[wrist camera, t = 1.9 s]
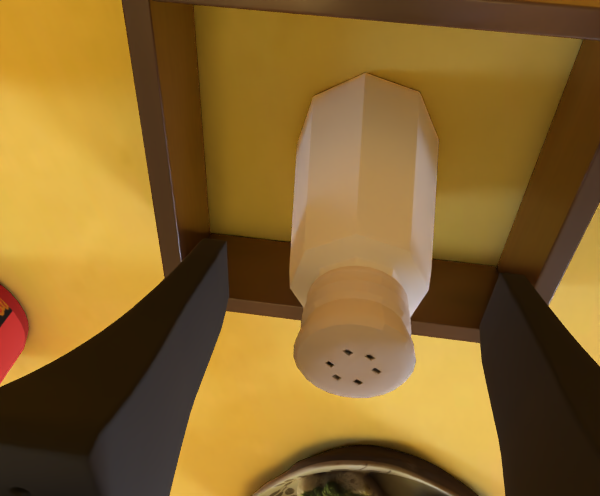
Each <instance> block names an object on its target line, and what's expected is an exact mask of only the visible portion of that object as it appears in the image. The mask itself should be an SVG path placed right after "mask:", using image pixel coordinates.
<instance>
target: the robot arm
mask: <svg viewBox="0 0 600 496" xmlns="http://www.w3.org/2000/svg"><path fill="white" fill-rule="evenodd" d="M228 299H229V281H228V261H227V241H224V240H216V239H207V238H204V239H202V240H201V241H200V242H199V243H198V244H197V245H196V246H195V248H194V249H193V250H192V251H191V252H190V253H189V254H188V255H187V256H186V257H185V258H184V259H183V261H182V262H181V263H180V264H179V265H178V266H177V267H176V268H175V269H174V270H173V271H172V272H171V273H170V274H169V275H168V276H167V277H166V278H165V279H164V280H163V281H162V282H161V283H160V284H159V285H158V286H157V287H155V288H154V289H153V290H152V291H151V292H150V293H149V294H148V295H147V296H145V297H144V298H143V299H142V300H141V301H140V302H139V303H137V304H136V305H135V306H134V307H133V308H132V309H130V310H129V311H128V312H127V313H125V314H124V315H123V316H122V317H120V318H119V319H118V320H117V321H115V322H114V323H112V324H111V325H110V326H108V327H107V328H106V329H104V330H103V331H102V332H100V333H99V334H97V335H96V336H94V337H93V338H91V339H90V340H88V341H86V342H85V343H83V344H82V345H80V346H79V347H77V348H75V349H74V350H72V351H71V352H69V353H67V354H66V355H64V356H62V357H60V358H58V359H57V360H55V361H53V362H51V363H49V364H47V365H45V366H44V367H42V368H40V369H38V370H36V371H34V372H32V373H30V374H28V375H26V376H24V377H22V378H19V379H17V380H15V381H13V382H11V383H8V384H6V385H4V386H2V387H0V496H169V495H170V491H171V486H172V482H173V478H174V474H175V470H176V466H177V462H178V458H179V454H180V450H181V446H182V442H183V438H184V435H185V431H186V427H187V423H188V420H189V416H190V412H191V409H192V406H193V403H194V400H195V397H196V394H197V392H198V389H199V387H200V384H201V381H202V379H203V376H204V373H205V371H206V368H207V366H208V363H209V360H210V358H211V355H212V352H213V350H214V347H215V344H216V342H217V339H218V336H219V334H220V331H221V328H222V324H223V320H224V316H225V312H226V308H227V303H228ZM479 329H480V346H481V357H482V364H483V369H484V374H485V379H486V384H487V389H488V393H489V398H490V402H491V407H492V411H493V416H494V421H495V425H496V430H497V434H498V439H499V445H500V451H501V457H502V467H503V476H504V486H505V496H600V366H599V365H598V364H597V363H596V362H595V361H594V360H593V359H592V358H591V357H590V355H589V354H588V353H587V352H586V351H585V350H584V349H583V348H582V347H581V345H580V344H579V343H578V342H577V341H576V340H575V338H574V337H573V336H572V335H571V334H570V333H569V331H568V330H567V329H566V328H565V326H564V325H563V324H562V323H561V322H560V320H559V319H558V318H557V317H556V315H555V314H554V313H553V311H552V310H551V309H550V308H549V306H548V305H547V304H546V302H545V301H544V300H543V299H542V297H541V296H540V295H539V293H538V292H537V291H536V289H535V288H534V287H533V285H532V284H531V283H530V282H529V280H528V279H527V278H526V277H525V275H519V274H510V273H502V272H500V274H499V277H498V280H497V282H496V285H495V287H494V290H493V292H492V295H491V298H490V300H489V303H488V305H487V308H486V310H485V313H484V315H483V318H482V321H481V323H480V326H479Z"/></svg>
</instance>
